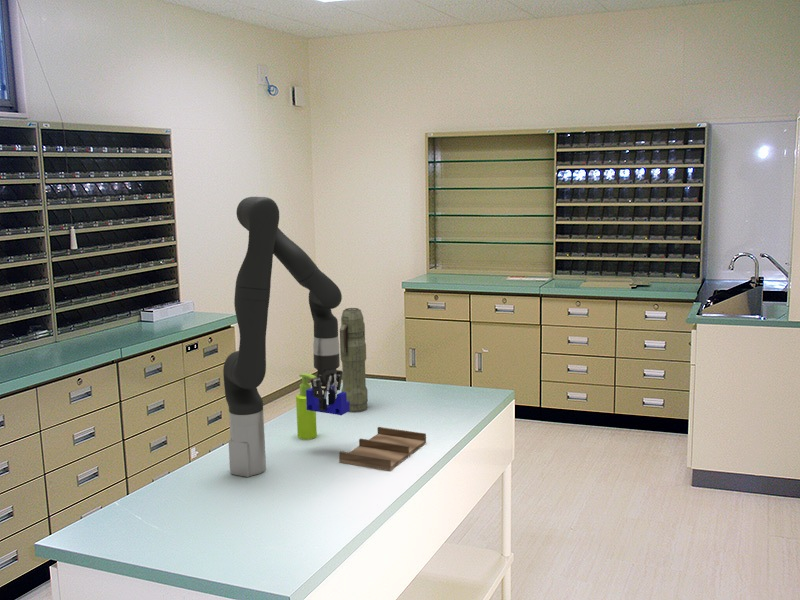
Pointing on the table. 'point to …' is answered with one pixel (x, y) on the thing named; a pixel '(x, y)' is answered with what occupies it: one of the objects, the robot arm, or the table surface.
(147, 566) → the table surface
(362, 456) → the rack
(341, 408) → the blue cradle stand
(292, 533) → the table surface
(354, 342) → the thermos
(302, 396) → the soap dispenser
